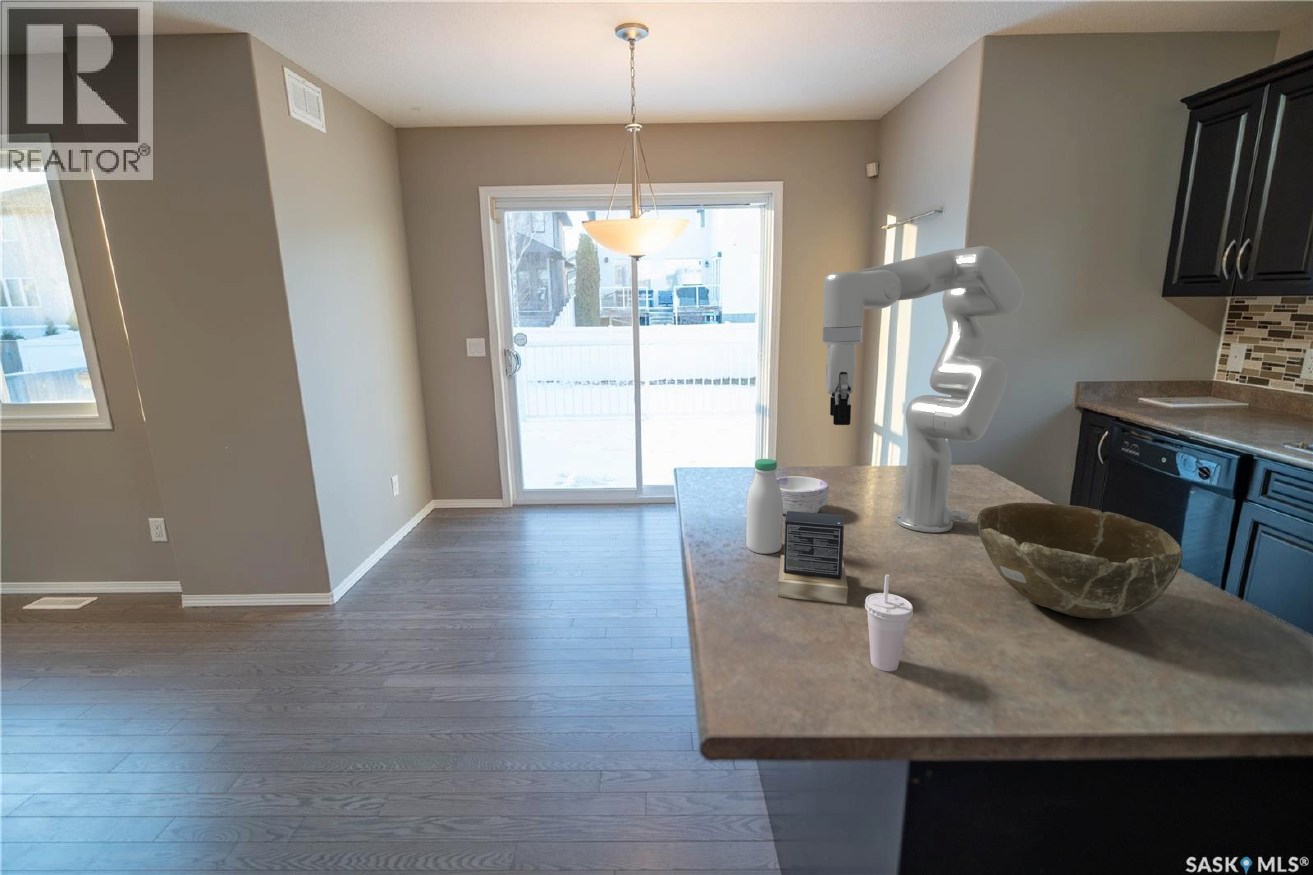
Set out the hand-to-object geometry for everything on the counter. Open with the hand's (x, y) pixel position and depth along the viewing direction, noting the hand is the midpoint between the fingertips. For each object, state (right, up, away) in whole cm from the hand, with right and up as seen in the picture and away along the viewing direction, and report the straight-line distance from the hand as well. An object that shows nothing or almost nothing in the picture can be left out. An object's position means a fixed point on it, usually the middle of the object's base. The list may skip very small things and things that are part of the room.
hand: (839, 419), depth 114 cm
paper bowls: (-1, -23, +31) cm, 39 cm away
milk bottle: (-14, -28, +9) cm, 33 cm away
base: (-8, -32, -9) cm, 34 cm away
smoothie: (-5, -37, -33) cm, 50 cm away
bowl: (+32, -33, -19) cm, 50 cm away
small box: (-8, -29, -10) cm, 32 cm away
